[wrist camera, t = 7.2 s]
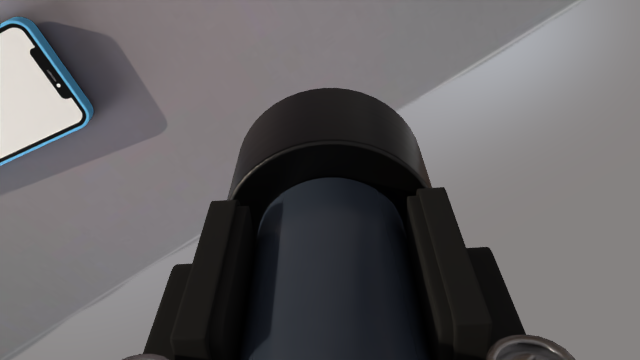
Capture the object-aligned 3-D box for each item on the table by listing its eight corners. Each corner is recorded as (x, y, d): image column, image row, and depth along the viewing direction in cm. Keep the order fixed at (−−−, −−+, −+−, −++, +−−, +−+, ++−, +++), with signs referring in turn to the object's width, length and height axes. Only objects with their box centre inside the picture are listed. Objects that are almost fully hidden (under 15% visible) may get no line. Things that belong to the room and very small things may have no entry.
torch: (423, 80, 14) (544, 367, 7) (420, 242, 17) (507, 596, 9) (225, 93, 15) (114, 388, 7) (250, 252, 17) (189, 607, 9)
